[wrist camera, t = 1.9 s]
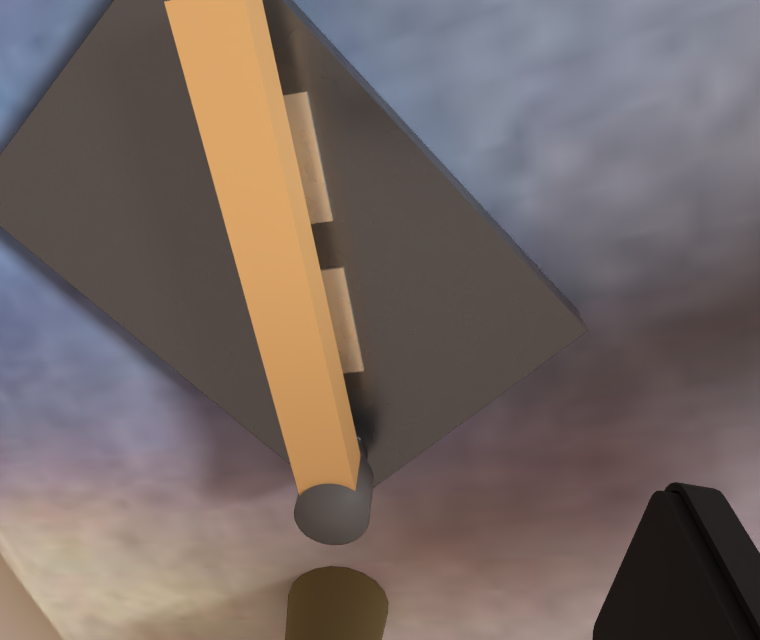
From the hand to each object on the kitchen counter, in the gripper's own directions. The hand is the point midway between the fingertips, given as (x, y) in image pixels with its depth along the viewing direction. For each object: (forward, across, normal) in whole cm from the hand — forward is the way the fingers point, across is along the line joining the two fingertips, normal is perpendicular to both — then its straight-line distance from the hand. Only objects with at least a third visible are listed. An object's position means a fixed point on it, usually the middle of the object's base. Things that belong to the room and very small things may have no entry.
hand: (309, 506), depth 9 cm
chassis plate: (+20, +4, +4) cm, 21 cm away
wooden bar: (+17, +3, +5) cm, 17 cm away
